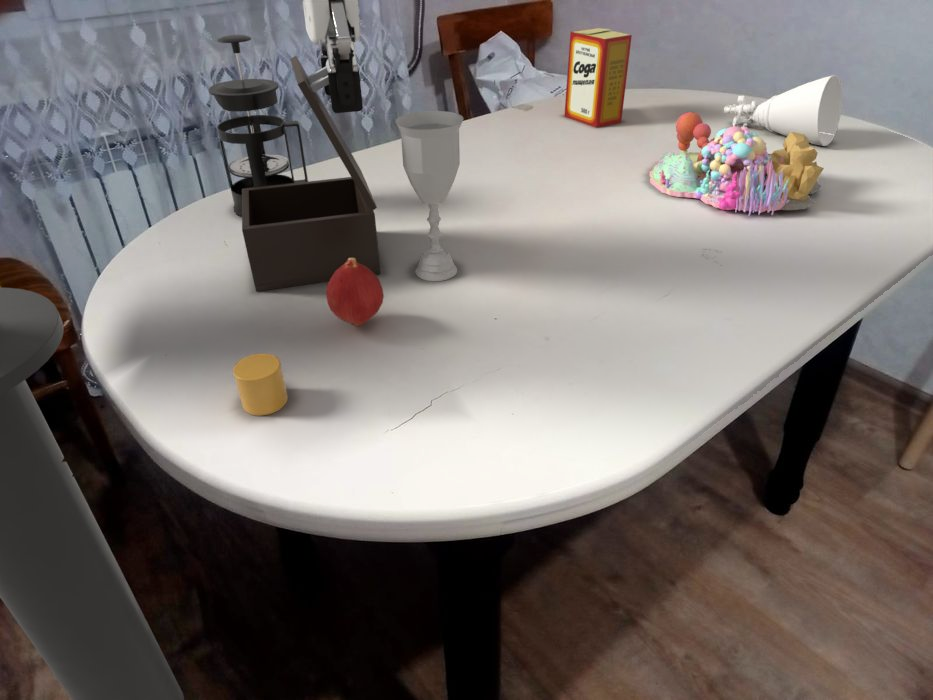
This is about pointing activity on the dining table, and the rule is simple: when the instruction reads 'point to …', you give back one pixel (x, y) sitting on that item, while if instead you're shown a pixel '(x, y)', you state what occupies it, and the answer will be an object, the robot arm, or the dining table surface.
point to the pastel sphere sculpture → (738, 169)
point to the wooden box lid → (330, 123)
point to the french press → (252, 130)
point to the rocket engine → (797, 111)
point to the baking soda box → (597, 76)
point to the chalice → (431, 176)
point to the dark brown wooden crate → (306, 231)
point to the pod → (260, 384)
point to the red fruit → (354, 293)
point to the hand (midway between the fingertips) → (343, 101)
